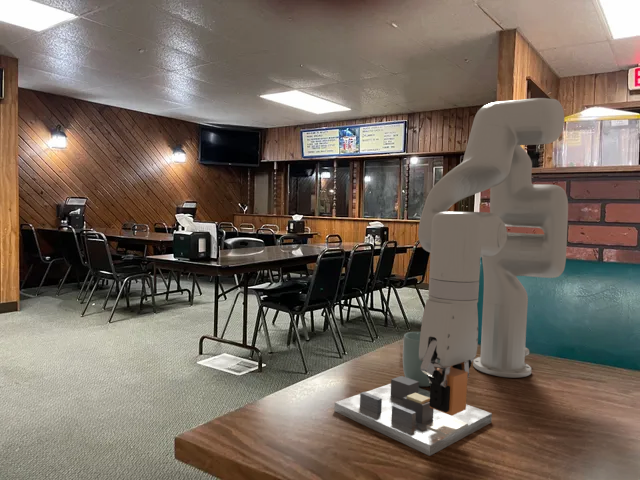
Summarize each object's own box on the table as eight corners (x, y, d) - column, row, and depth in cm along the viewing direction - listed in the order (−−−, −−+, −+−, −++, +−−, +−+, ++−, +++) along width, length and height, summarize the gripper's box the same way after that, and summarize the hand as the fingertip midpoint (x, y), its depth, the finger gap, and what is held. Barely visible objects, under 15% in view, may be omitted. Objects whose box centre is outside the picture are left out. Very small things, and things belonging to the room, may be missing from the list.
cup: (440, 392, 96) (442, 342, 95) (401, 388, 97) (403, 339, 96) (438, 379, 103) (441, 333, 103) (402, 375, 105) (404, 330, 104)
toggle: (400, 391, 91) (401, 375, 91) (418, 397, 88) (418, 381, 88) (390, 395, 89) (391, 379, 89) (408, 401, 86) (408, 385, 86)
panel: (398, 388, 97) (399, 369, 97) (491, 422, 82) (492, 399, 82) (334, 411, 85) (335, 389, 84) (429, 455, 70) (430, 429, 70)
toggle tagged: (413, 410, 82) (414, 391, 82) (433, 418, 79) (433, 398, 79) (402, 415, 80) (403, 395, 80) (422, 423, 77) (423, 402, 77)
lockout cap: (444, 401, 79) (445, 365, 79) (465, 409, 76) (467, 371, 76) (429, 407, 76) (431, 370, 76) (451, 415, 73) (453, 377, 73)
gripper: (461, 284, 84) (455, 387, 84) (400, 291, 72) (395, 411, 73) (502, 289, 78) (496, 400, 79) (443, 299, 67) (437, 428, 68)
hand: (447, 404), depth 76 cm, fingers closed on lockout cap, 4 cm apart
